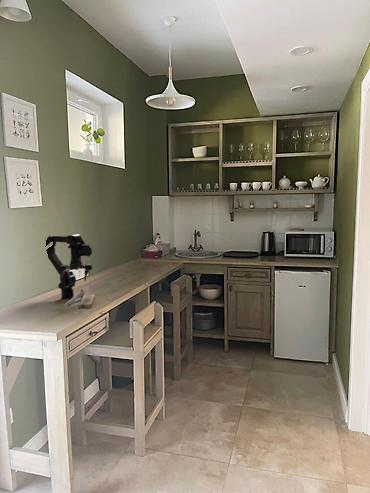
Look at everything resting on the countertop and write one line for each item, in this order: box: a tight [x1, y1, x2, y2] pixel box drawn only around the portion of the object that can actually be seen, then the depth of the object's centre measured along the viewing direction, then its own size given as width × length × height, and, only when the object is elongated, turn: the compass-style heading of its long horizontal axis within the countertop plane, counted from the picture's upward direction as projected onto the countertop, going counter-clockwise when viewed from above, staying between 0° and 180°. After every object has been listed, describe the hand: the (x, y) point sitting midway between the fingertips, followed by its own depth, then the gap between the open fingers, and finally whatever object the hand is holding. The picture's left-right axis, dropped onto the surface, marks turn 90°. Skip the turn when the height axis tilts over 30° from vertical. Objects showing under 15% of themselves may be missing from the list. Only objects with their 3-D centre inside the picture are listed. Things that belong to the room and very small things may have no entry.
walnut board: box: [78, 294, 96, 309], centre depth 220 cm, size 6×24×2 cm, turn 8°
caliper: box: [63, 288, 85, 308], centre depth 222 cm, size 20×1×6 cm, turn 163°
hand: (77, 281), depth 229 cm, fingers open, 9 cm apart
